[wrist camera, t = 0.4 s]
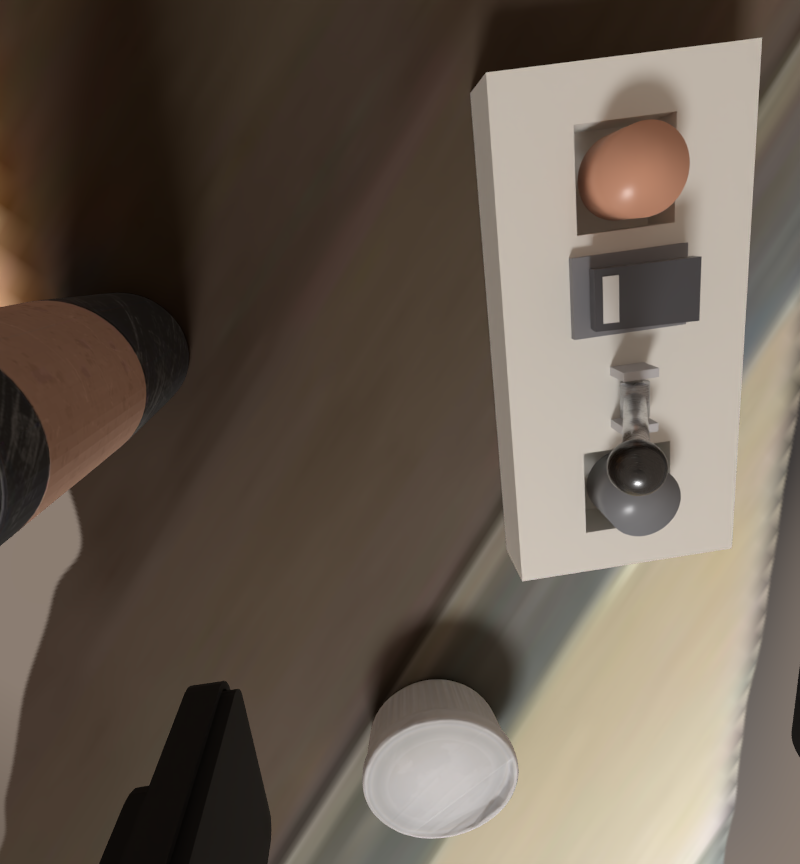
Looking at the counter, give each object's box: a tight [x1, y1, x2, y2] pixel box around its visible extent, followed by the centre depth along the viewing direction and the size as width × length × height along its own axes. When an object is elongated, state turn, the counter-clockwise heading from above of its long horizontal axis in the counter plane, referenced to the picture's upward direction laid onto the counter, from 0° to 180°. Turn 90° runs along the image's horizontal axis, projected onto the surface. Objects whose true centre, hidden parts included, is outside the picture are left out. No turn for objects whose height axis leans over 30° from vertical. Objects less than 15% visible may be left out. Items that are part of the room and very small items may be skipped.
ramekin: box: [363, 679, 519, 838], centre depth 43 cm, size 11×11×5 cm
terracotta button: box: [578, 119, 690, 221], centre depth 30 cm, size 4×4×3 cm
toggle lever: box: [607, 379, 668, 496], centre depth 28 cm, size 2×2×12 cm
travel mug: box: [0, 293, 189, 546], centre depth 25 cm, size 8×8×20 cm
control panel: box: [470, 38, 762, 581], centre depth 34 cm, size 29×14×6 cm, turn 7°
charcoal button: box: [587, 452, 681, 536], centre depth 35 cm, size 4×4×3 cm
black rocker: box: [589, 256, 702, 332], centre depth 30 cm, size 3×5×1 cm, turn 97°
